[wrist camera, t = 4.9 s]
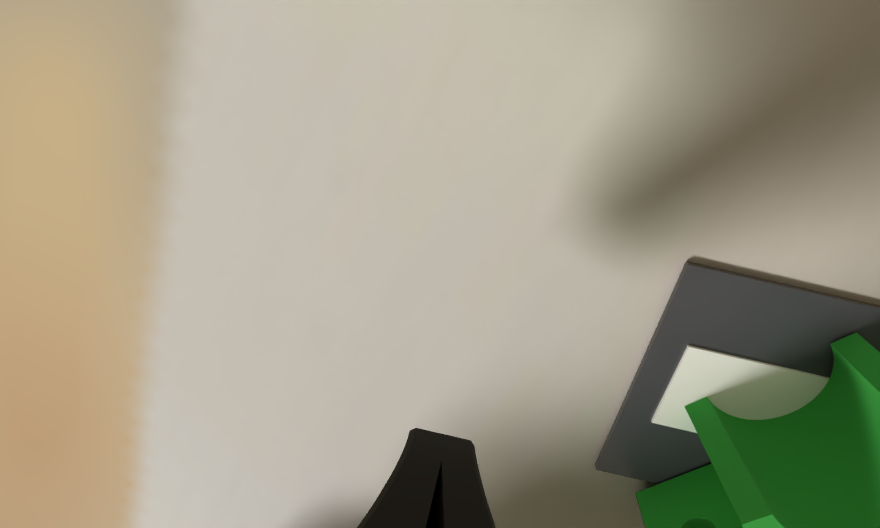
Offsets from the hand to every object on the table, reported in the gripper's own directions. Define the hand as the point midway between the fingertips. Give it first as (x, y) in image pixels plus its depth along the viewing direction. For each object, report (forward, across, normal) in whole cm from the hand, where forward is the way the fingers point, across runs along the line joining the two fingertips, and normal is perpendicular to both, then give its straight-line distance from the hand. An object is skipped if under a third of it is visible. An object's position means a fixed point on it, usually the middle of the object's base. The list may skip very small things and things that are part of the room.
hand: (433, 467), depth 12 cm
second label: (+6, -10, 0) cm, 12 cm away
